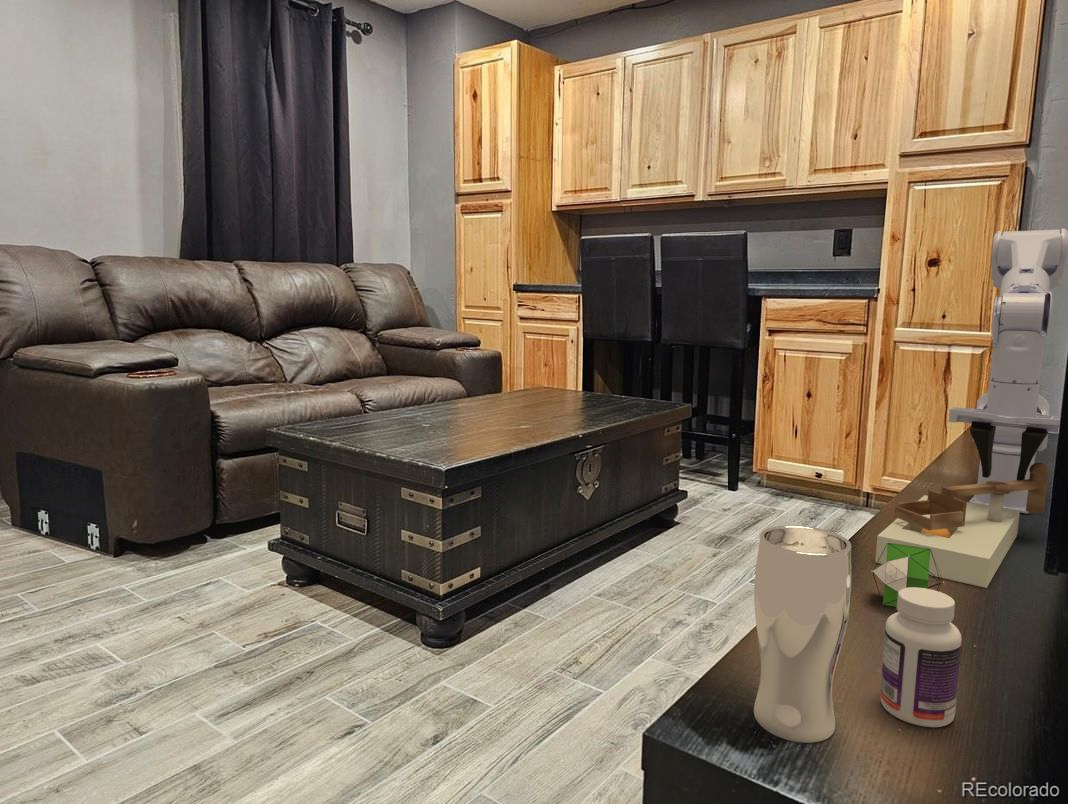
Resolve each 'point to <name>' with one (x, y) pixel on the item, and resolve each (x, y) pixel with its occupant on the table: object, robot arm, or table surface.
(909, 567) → the geometric puzzle
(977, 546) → the cream shape sorter
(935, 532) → the ball
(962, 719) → the table surface
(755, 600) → the beer glass
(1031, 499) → the lever
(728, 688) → the table surface
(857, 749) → the table surface
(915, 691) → the pill bottle
